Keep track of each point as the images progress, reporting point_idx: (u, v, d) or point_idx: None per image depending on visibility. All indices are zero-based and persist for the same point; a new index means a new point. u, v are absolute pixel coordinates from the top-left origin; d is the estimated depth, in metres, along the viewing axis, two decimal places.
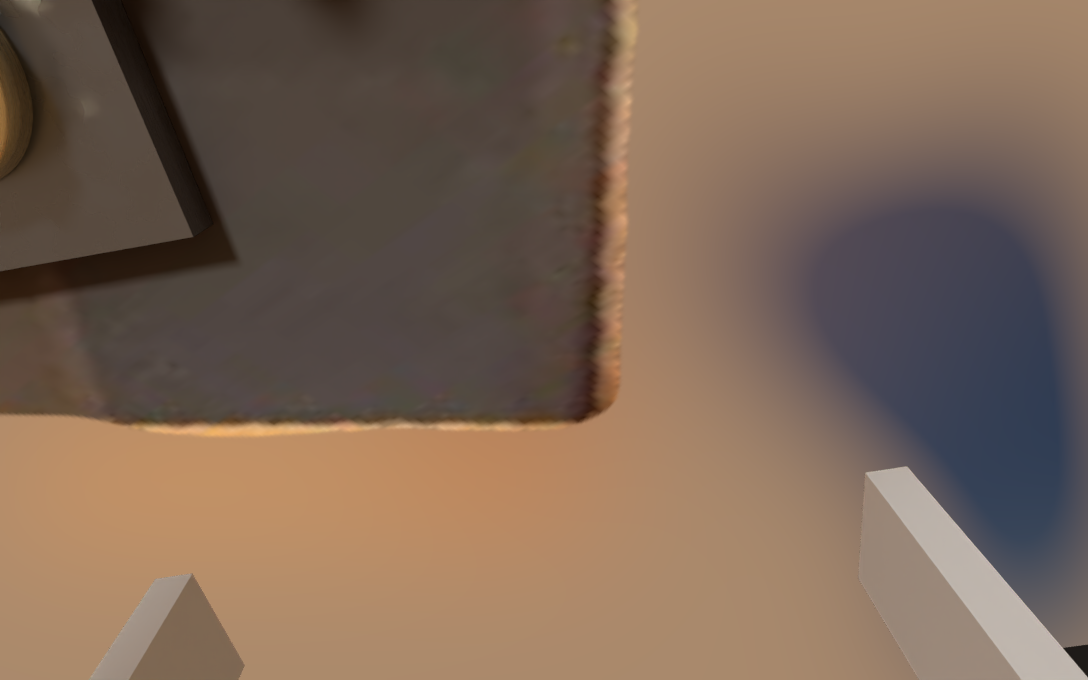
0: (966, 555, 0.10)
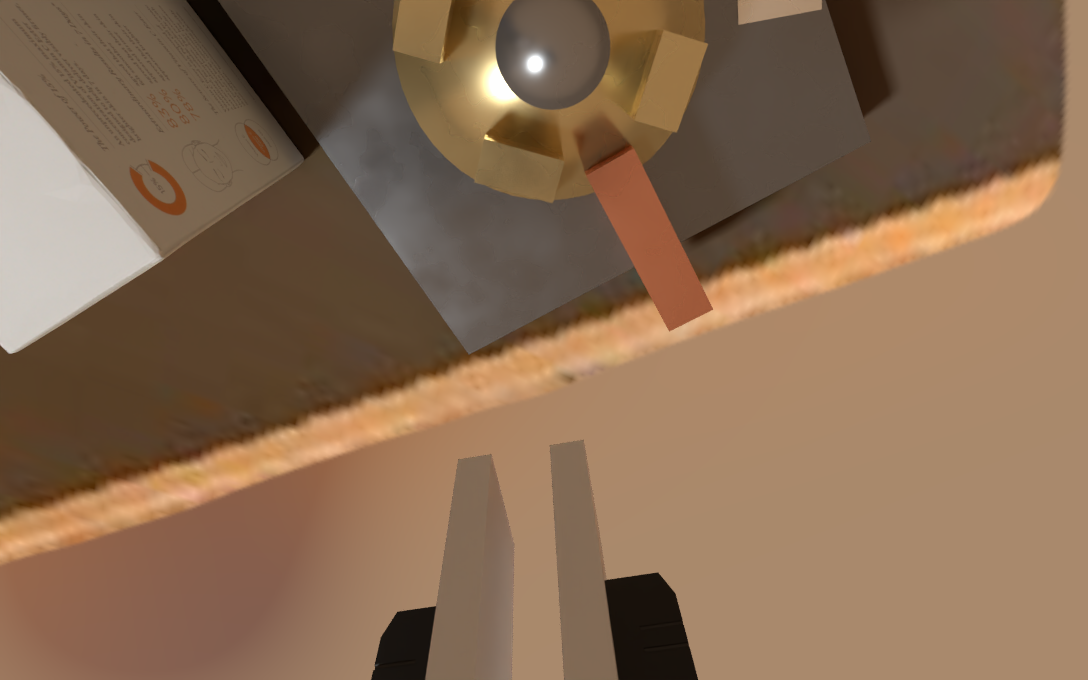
0: (581, 507, 0.12)
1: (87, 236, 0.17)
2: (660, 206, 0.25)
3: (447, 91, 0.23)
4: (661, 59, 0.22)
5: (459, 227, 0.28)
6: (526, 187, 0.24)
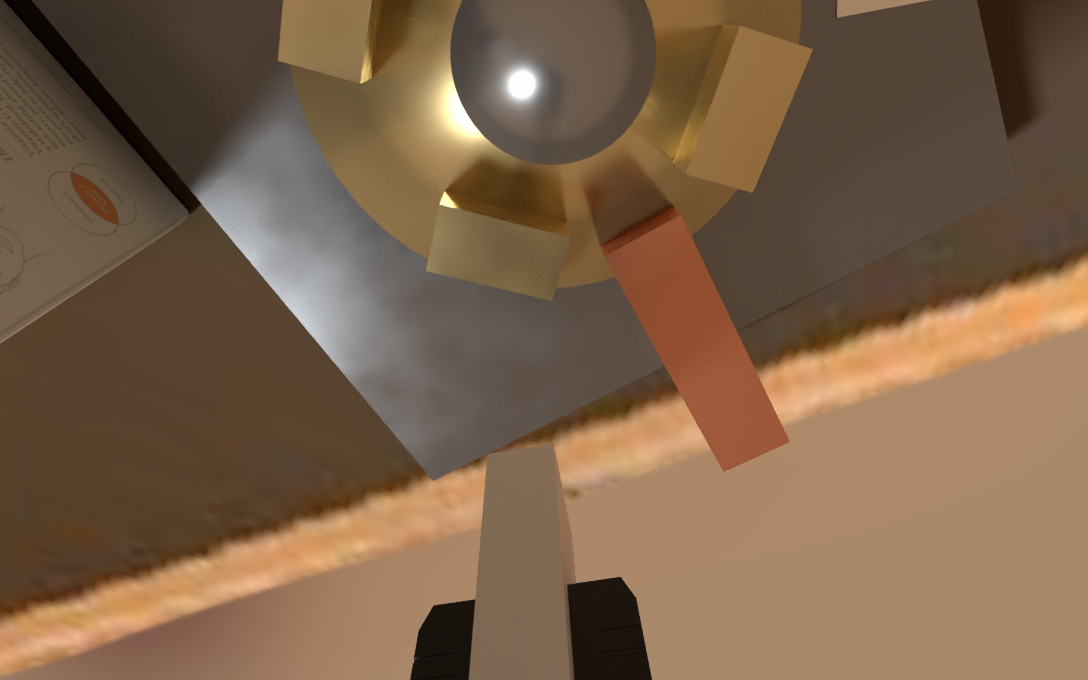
0: (546, 511, 0.12)
1: None
2: (718, 300, 0.16)
3: (381, 125, 0.14)
4: (733, 75, 0.13)
5: (414, 314, 0.19)
6: (510, 277, 0.15)
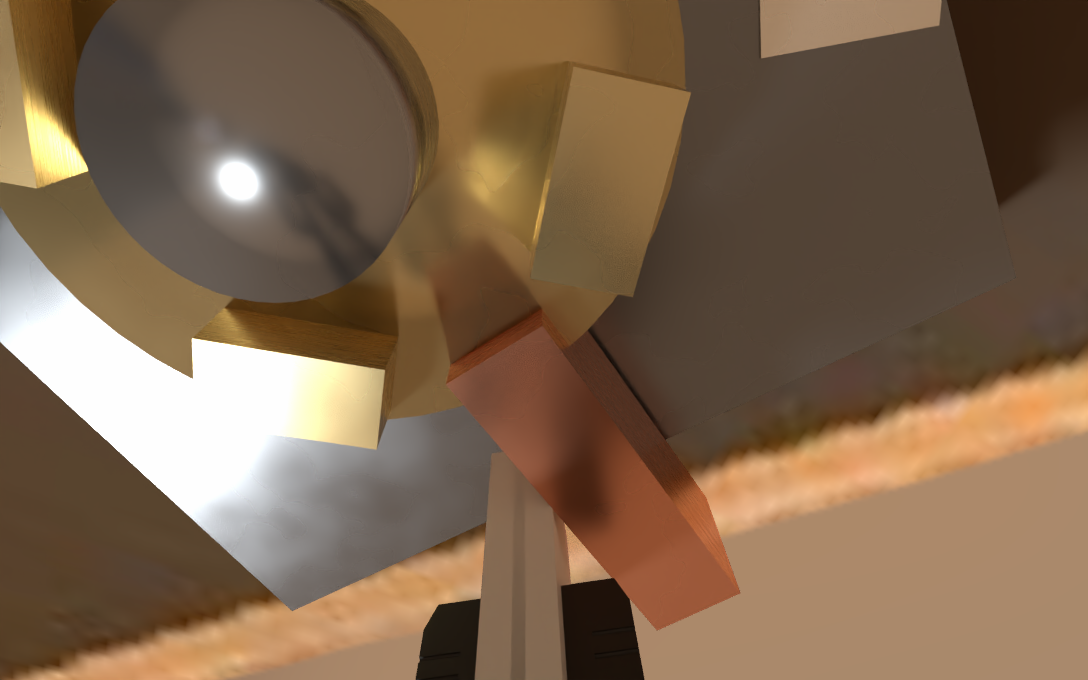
0: (540, 512, 0.12)
1: None
2: (615, 429, 0.12)
3: (118, 229, 0.10)
4: (576, 138, 0.09)
5: None
6: (312, 424, 0.11)
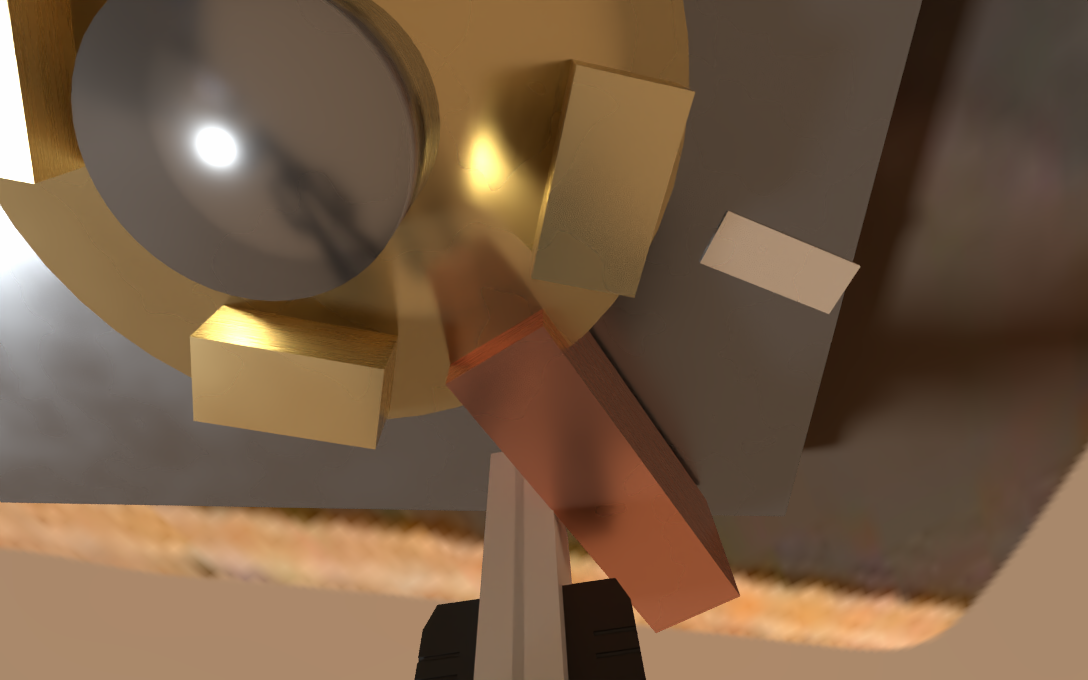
0: (541, 512, 0.12)
1: None
2: (615, 431, 0.12)
3: (116, 226, 0.10)
4: (579, 137, 0.09)
5: (57, 305, 0.14)
6: (310, 423, 0.11)
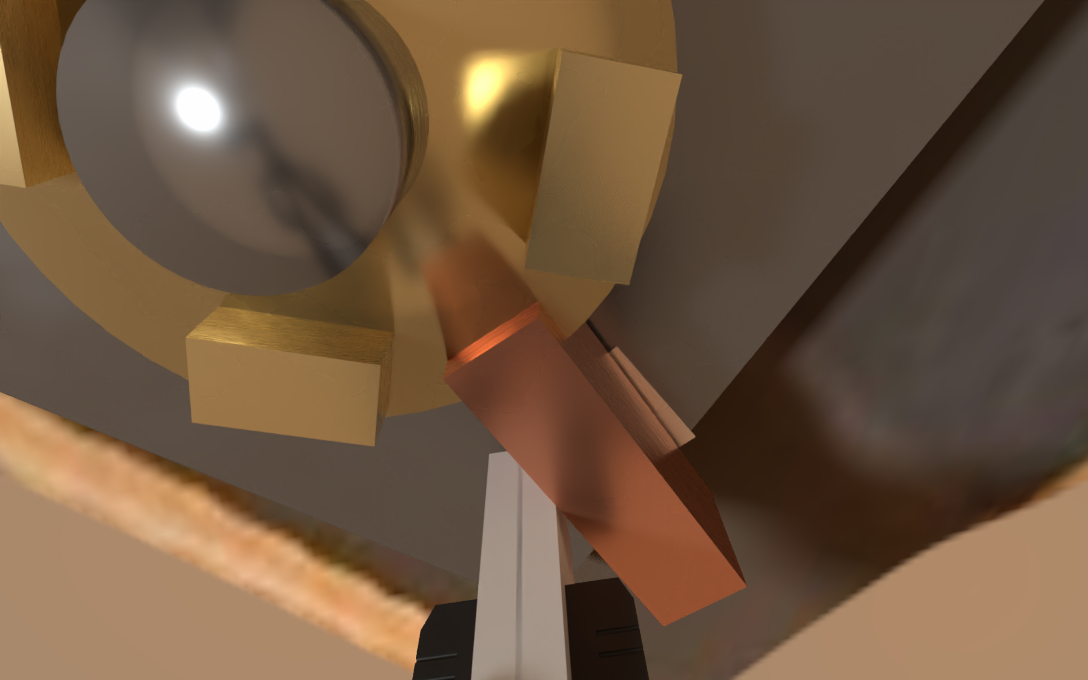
0: (544, 512, 0.12)
1: None
2: (615, 421, 0.11)
3: (110, 230, 0.10)
4: (567, 124, 0.09)
5: None
6: (309, 422, 0.11)
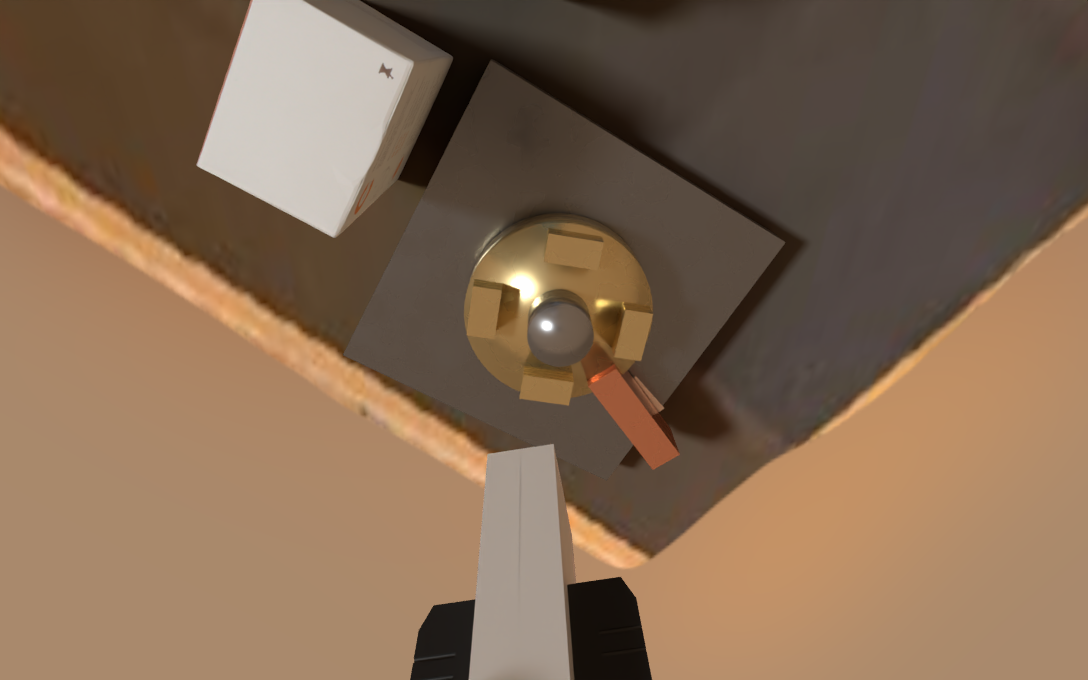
0: (546, 511, 0.12)
1: (319, 193, 0.27)
2: (637, 398, 0.39)
3: (499, 345, 0.38)
4: (626, 324, 0.36)
5: (423, 307, 0.40)
6: (551, 398, 0.38)
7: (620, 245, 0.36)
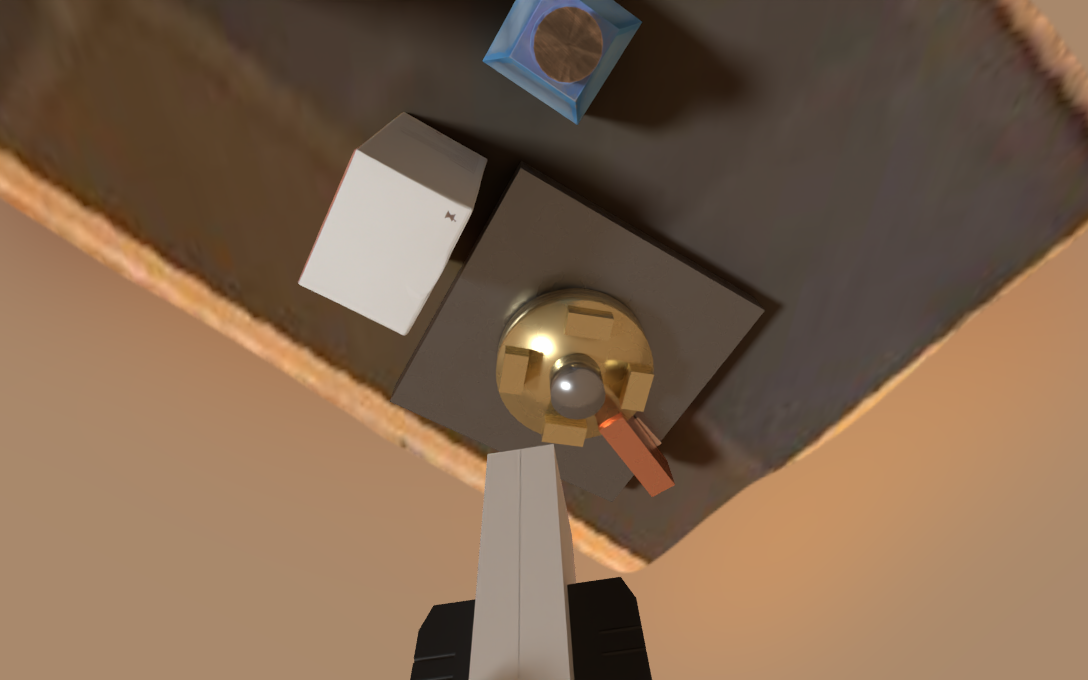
0: (546, 511, 0.12)
1: (394, 304, 0.34)
2: (639, 440, 0.47)
3: (524, 397, 0.46)
4: (631, 382, 0.44)
5: (459, 362, 0.47)
6: (568, 441, 0.46)
7: (627, 318, 0.43)
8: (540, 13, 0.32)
